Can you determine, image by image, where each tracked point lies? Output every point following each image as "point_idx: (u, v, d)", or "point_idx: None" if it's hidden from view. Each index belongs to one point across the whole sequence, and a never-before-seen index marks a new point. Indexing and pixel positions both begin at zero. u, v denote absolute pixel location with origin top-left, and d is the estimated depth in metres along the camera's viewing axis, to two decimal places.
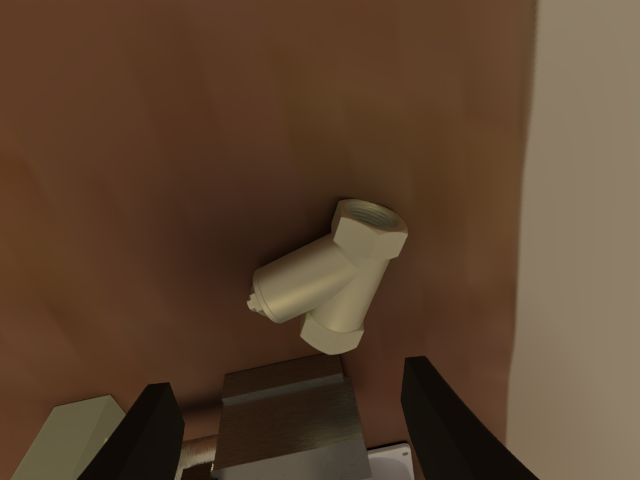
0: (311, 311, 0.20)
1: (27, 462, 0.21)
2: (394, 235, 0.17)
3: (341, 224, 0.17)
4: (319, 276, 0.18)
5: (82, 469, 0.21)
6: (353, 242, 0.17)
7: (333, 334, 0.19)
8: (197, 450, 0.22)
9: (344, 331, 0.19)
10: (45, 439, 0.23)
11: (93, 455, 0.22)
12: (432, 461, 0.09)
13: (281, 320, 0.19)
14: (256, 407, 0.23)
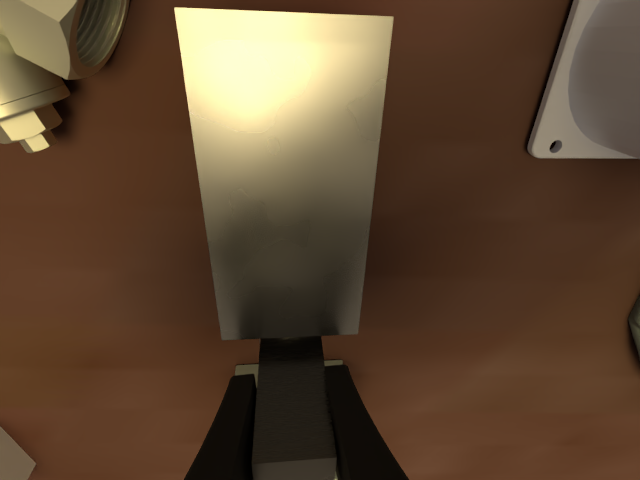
0: (7, 37, 0.10)
1: None
2: None
3: None
4: None
5: None
6: None
7: None
8: None
9: None
10: None
11: None
12: (339, 472, 0.09)
13: (3, 102, 0.10)
14: None
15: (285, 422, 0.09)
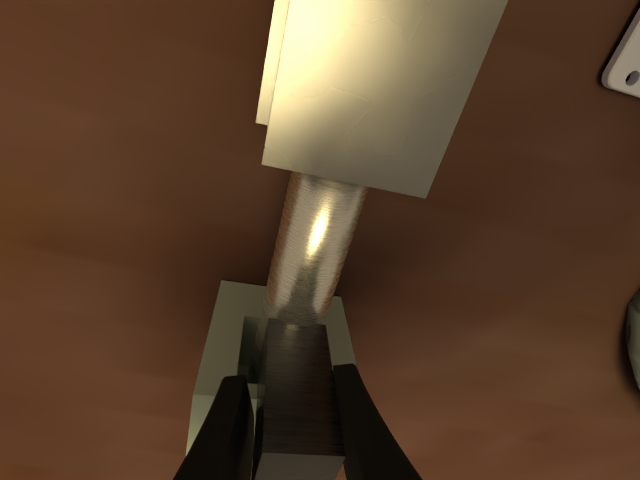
0: None
1: None
2: None
3: None
4: None
5: (218, 356, 0.13)
6: None
7: None
8: (259, 322, 0.13)
9: None
10: None
11: (231, 337, 0.14)
12: (349, 471, 0.09)
13: None
14: None
15: (295, 415, 0.09)
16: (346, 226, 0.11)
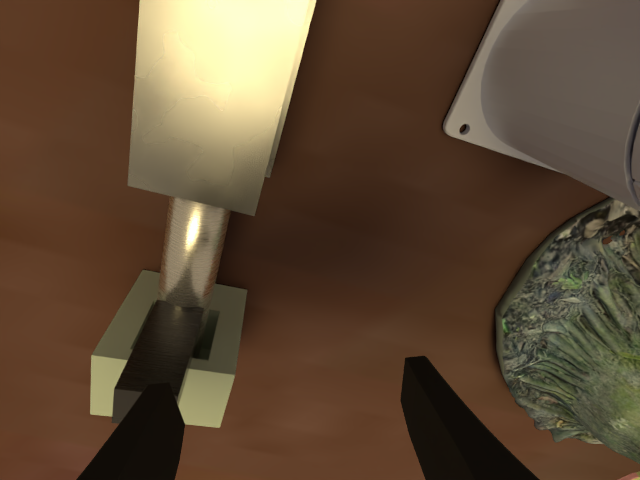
0: None
1: None
2: None
3: None
4: None
5: (121, 329, 0.17)
6: None
7: None
8: None
9: None
10: None
11: (137, 315, 0.17)
12: (432, 461, 0.09)
13: None
14: None
15: (149, 367, 0.13)
16: (210, 232, 0.14)
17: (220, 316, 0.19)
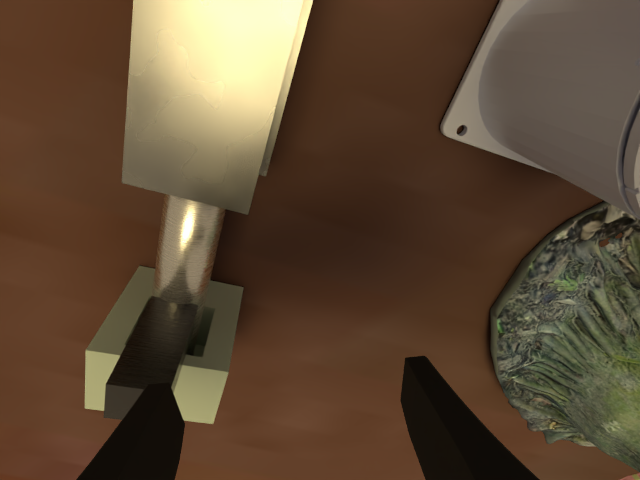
0: None
1: None
2: None
3: None
4: None
5: (116, 324, 0.17)
6: None
7: None
8: None
9: None
10: None
11: (132, 311, 0.18)
12: (431, 461, 0.09)
13: None
14: None
15: (142, 363, 0.13)
16: (205, 230, 0.14)
17: (215, 313, 0.19)
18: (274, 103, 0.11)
